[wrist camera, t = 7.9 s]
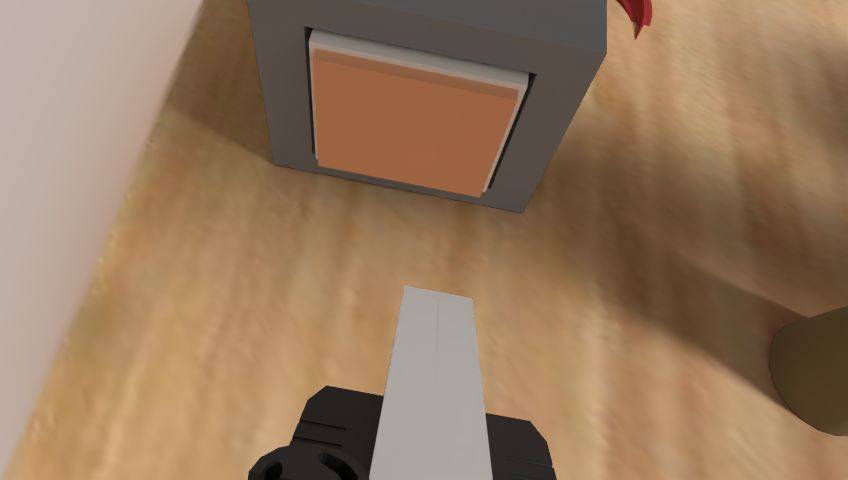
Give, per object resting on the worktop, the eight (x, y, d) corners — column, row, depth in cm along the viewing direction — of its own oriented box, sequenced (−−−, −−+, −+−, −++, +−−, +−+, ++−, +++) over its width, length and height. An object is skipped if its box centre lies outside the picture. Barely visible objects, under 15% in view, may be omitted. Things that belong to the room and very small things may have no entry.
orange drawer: (345, 56, 34) (347, -72, 27) (498, 87, 35) (537, -31, 28) (312, 168, 31) (304, 51, 24) (484, 201, 31) (526, 97, 24)
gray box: (320, 26, 38) (313, -177, 28) (534, 70, 39) (606, -113, 28) (274, 164, 33) (242, -22, 22) (522, 213, 33) (606, 53, 23)
